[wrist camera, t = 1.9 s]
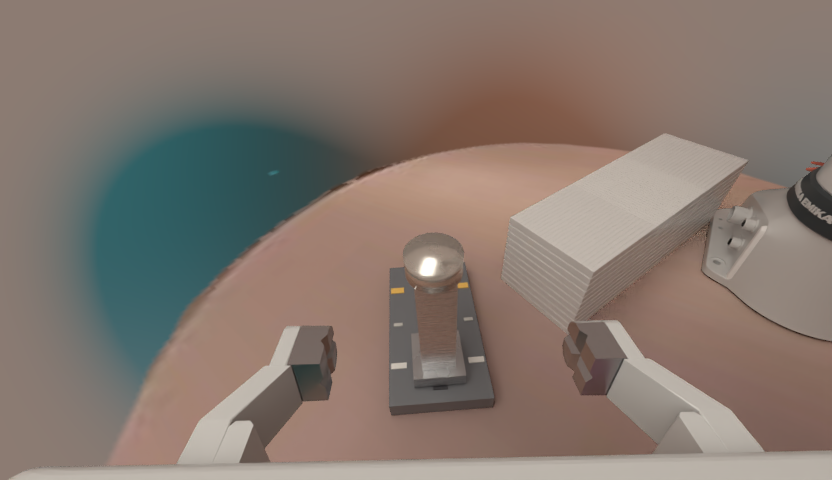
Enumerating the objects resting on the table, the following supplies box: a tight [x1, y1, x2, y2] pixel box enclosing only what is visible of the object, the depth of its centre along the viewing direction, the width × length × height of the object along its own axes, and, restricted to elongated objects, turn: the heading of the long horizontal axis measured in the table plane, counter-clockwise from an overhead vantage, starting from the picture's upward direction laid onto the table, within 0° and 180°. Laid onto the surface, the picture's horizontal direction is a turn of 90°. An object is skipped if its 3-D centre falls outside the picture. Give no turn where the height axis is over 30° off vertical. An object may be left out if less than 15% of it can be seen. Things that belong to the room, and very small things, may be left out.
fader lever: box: [403, 233, 466, 387], centre depth 30 cm, size 5×5×16 cm
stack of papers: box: [501, 134, 748, 335], centre depth 46 cm, size 32×11×11 cm, turn 124°
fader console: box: [389, 262, 494, 415], centre depth 40 cm, size 18×10×2 cm, turn 3°
